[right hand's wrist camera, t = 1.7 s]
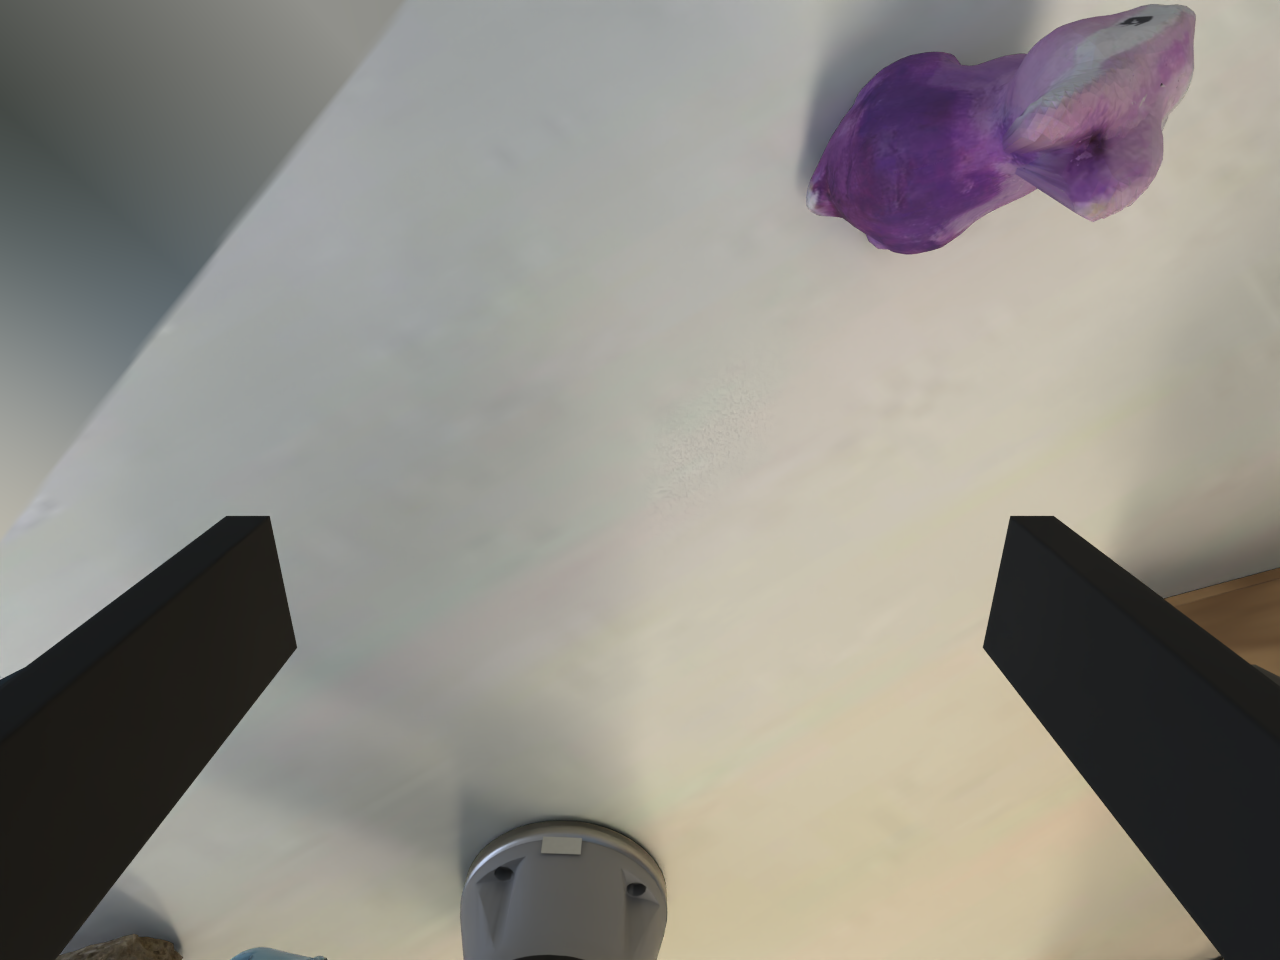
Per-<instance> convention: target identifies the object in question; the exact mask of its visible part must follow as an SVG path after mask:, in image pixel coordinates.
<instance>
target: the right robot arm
mask: <svg viewBox="0 0 1280 960" xmlns="http://www.w3.org/2000/svg"><path fill="white" fill-rule="evenodd" d="M296 648H297V645H296V640H295V635H294V630H293V626H292V621H291V616H290V611H289V607H288V602H287V597H286V592H285V587H284V583H283V578H282V573H281V568H280V563H279V559H278V554H277V549H276V544H275V540H274V535H273V530H272V525H271V520H270V516H226V517H224V518H223V519H222V520H220V521H219V522H218V523H216V524H215V525H214V526H212V527H211V528H210V529H209V530H207V531H206V532H205V533H203V534H202V535H201V536H199V537H198V538H197V539H195V540H194V541H193V542H191V543H190V544H189V545H187V546H186V547H185V548H183V549H182V550H181V551H179V552H178V553H177V554H175V555H174V556H173V557H171V558H170V559H169V560H167V561H166V562H165V563H163V564H162V565H161V566H159V567H158V568H157V569H155V570H154V571H153V572H151V573H150V574H149V575H147V576H146V577H145V578H143V579H142V580H141V581H139V582H138V583H137V584H135V585H134V586H133V587H131V588H130V589H129V590H127V591H126V592H125V593H123V594H122V595H121V596H119V597H118V598H117V599H115V600H114V601H113V602H111V603H110V604H109V605H107V606H106V607H105V608H103V609H102V610H101V611H100V612H98V613H97V614H96V615H94V616H93V617H92V618H90V619H89V620H88V621H86V622H85V623H84V624H82V625H81V626H80V627H78V628H77V629H76V630H74V631H73V632H72V633H70V634H69V635H68V636H66V637H65V638H64V639H62V640H61V641H60V642H58V643H57V644H56V645H54V646H53V647H52V648H50V649H49V650H48V651H46V652H45V653H44V654H42V655H41V656H40V657H38V658H37V659H36V660H34V661H33V662H32V663H30V664H29V665H28V666H26V667H25V668H23V669H21V670H19V671H17V672H15V673H13V674H11V675H9V676H7V677H5V678H3V679H1V680H0V960H55V959H56V958H57V957H58V956H59V954H60V953H61V952H62V950H63V949H64V948H65V947H66V945H67V944H68V943H69V941H70V940H71V939H72V938H73V936H74V935H75V934H76V932H77V931H78V930H79V929H80V927H81V926H82V925H83V923H84V922H85V921H86V919H87V918H88V917H89V916H90V914H91V913H92V912H93V910H94V909H95V908H96V907H97V905H98V904H99V903H100V901H101V900H102V899H103V898H104V896H105V895H106V894H107V892H108V891H109V890H110V888H111V887H112V886H113V885H114V883H115V882H116V881H117V879H118V878H119V877H120V876H121V874H122V873H123V872H124V870H125V869H126V868H127V867H128V865H129V864H130V863H131V861H132V860H133V859H134V857H135V856H136V855H137V854H138V852H139V851H140V850H141V848H142V847H143V846H144V845H145V843H146V842H147V841H148V839H149V838H150V837H151V836H152V834H153V833H154V832H155V830H156V829H157V828H158V827H159V825H160V824H161V823H162V821H163V820H164V819H165V817H166V816H167V815H168V814H169V812H170V811H171V810H172V808H173V807H174V806H175V805H176V803H177V802H178V801H179V799H180V798H181V797H182V796H183V794H184V793H185V792H186V790H187V789H188V788H189V786H190V785H191V784H192V783H193V781H194V780H195V779H196V777H197V776H198V775H199V774H200V772H201V771H202V770H203V768H204V767H205V766H206V765H207V763H208V762H209V761H210V759H211V758H212V757H213V756H214V754H215V753H216V752H217V750H218V749H219V748H220V746H221V745H222V744H223V743H224V741H225V740H226V739H227V737H228V736H229V735H230V734H231V732H232V731H233V730H234V728H235V727H236V726H237V725H238V723H239V722H240V721H241V719H242V718H243V717H244V715H245V714H246V713H247V712H248V710H249V709H250V708H251V706H252V705H253V704H254V703H255V701H256V700H257V699H258V697H259V696H260V695H261V694H262V692H263V691H264V690H265V688H266V687H267V686H268V685H269V683H270V682H271V681H272V679H273V678H274V677H275V675H276V674H277V673H278V672H279V670H280V669H281V668H282V666H283V665H284V664H285V663H286V661H287V660H288V659H289V657H290V656H291V655H292V654H293V652H294V651H295V650H296ZM983 648H984V650H985V651H986V652H987V654H988V655H989V656H990V657H991V659H992V660H993V661H994V663H995V664H996V665H997V666H998V668H999V669H1000V670H1001V672H1002V673H1003V674H1004V675H1005V677H1006V678H1007V679H1008V681H1009V682H1010V683H1011V685H1012V686H1013V687H1014V688H1015V690H1016V691H1017V692H1018V694H1019V695H1020V696H1021V697H1022V699H1023V700H1024V701H1025V703H1026V704H1027V705H1028V706H1029V708H1030V709H1031V710H1032V712H1033V713H1034V714H1035V715H1036V717H1037V718H1038V719H1039V721H1040V722H1041V723H1042V725H1043V726H1044V727H1045V728H1046V730H1047V731H1048V732H1049V734H1050V735H1051V736H1052V737H1053V739H1054V740H1055V741H1056V743H1057V744H1058V745H1059V746H1060V748H1061V749H1062V750H1063V752H1064V753H1065V754H1066V756H1067V757H1068V758H1069V759H1070V761H1071V762H1072V763H1073V765H1074V766H1075V767H1076V768H1077V770H1078V771H1079V772H1080V774H1081V775H1082V776H1083V777H1084V779H1085V780H1086V781H1087V783H1088V784H1089V785H1090V786H1091V788H1092V789H1093V790H1094V792H1095V793H1096V794H1097V796H1098V797H1099V798H1100V799H1101V801H1102V802H1103V803H1104V805H1105V806H1106V807H1107V808H1108V810H1109V811H1110V812H1111V814H1112V815H1113V816H1114V817H1115V819H1116V820H1117V821H1118V823H1119V824H1120V825H1121V827H1122V828H1123V829H1124V830H1125V832H1126V833H1127V834H1128V836H1129V837H1130V838H1131V839H1132V841H1133V842H1134V843H1135V845H1136V846H1137V847H1138V848H1139V850H1140V851H1141V852H1142V854H1143V855H1144V856H1145V857H1146V859H1147V860H1148V861H1149V863H1150V864H1151V865H1152V867H1153V868H1154V869H1155V870H1156V872H1157V873H1158V874H1159V876H1160V877H1161V878H1162V879H1163V881H1164V882H1165V883H1166V885H1167V886H1168V887H1169V888H1170V890H1171V891H1172V892H1173V894H1174V895H1175V896H1176V898H1177V899H1178V900H1179V901H1180V903H1181V904H1182V905H1183V907H1184V908H1185V909H1186V910H1187V912H1188V913H1189V914H1190V916H1191V917H1192V918H1193V919H1194V921H1195V922H1196V923H1197V925H1198V926H1199V927H1200V929H1201V930H1202V931H1203V932H1204V934H1205V935H1206V936H1207V938H1208V939H1209V940H1210V941H1211V943H1212V944H1213V945H1214V947H1215V948H1216V949H1217V950H1218V952H1219V953H1220V954H1221V956H1222V957H1223V958H1224V959H1225V960H1280V677H1279V676H1277V675H1275V674H1273V673H1271V672H1269V671H1267V670H1265V669H1263V668H1261V667H1259V666H1257V665H1255V664H1250V663H1248V662H1247V661H1246V660H1244V659H1243V658H1242V657H1240V656H1239V655H1238V654H1236V653H1235V652H1234V651H1232V650H1231V649H1230V648H1228V647H1227V646H1226V645H1224V644H1223V643H1222V642H1220V641H1219V640H1218V639H1216V638H1215V637H1214V636H1212V635H1211V634H1210V633H1208V632H1207V631H1206V630H1204V629H1203V628H1202V627H1200V626H1199V625H1198V624H1196V623H1195V622H1194V621H1192V620H1191V619H1190V618H1188V617H1187V616H1186V615H1184V614H1183V613H1182V612H1180V611H1179V610H1178V609H1177V608H1175V607H1174V606H1173V605H1171V604H1170V603H1169V602H1167V601H1166V600H1165V599H1163V598H1162V597H1161V596H1159V595H1158V594H1157V593H1155V592H1154V591H1153V590H1151V589H1150V588H1149V587H1147V586H1146V585H1145V584H1143V583H1142V582H1141V581H1139V580H1138V579H1137V578H1135V577H1134V576H1133V575H1131V574H1130V573H1129V572H1127V571H1126V570H1125V569H1123V568H1122V567H1121V566H1119V565H1118V564H1117V563H1115V562H1114V561H1113V560H1111V559H1110V558H1109V557H1107V556H1106V555H1105V554H1103V553H1102V552H1101V551H1099V550H1098V549H1097V548H1095V547H1094V546H1093V545H1091V544H1090V543H1089V542H1087V541H1086V540H1085V539H1083V538H1082V537H1081V536H1079V535H1078V534H1077V533H1075V532H1074V531H1073V530H1071V529H1070V528H1069V527H1068V526H1066V525H1065V524H1064V523H1062V522H1061V521H1060V520H1058V519H1057V518H1056V517H1054V516H1010V520H1009V525H1008V530H1007V535H1006V540H1005V544H1004V549H1003V554H1002V559H1001V563H1000V568H999V573H998V578H997V583H996V587H995V592H994V597H993V602H992V607H991V611H990V616H989V621H988V626H987V630H986V635H985V640H984V645H983ZM460 920H461V932H462V945H463V957H464V960H657V956H658V953H659V950H660V946H661V943H662V940H663V936H664V932H665V927H666V922H667V893H666V885H665V881H664V878H663V875H662V873H661V871H660V869H659V867H658V865H657V864H656V863H655V861H654V860H653V858H652V857H651V856H650V855H649V854H648V853H647V852H646V851H645V850H644V849H643V848H642V847H640V846H639V845H638V844H637V843H635V842H634V841H632V840H631V839H629V838H627V837H626V836H624V835H622V834H620V833H618V832H615V831H613V830H610V829H608V828H605V827H602V826H598V825H594V824H590V823H584V822H577V821H546V822H539V823H534V824H529V825H526V826H522V827H519V828H516V829H514V830H511V831H509V832H507V833H505V834H503V835H501V836H500V837H498V838H496V839H495V840H493V841H492V842H491V843H489V844H488V845H487V846H486V847H485V848H484V849H483V850H482V851H481V852H480V853H479V854H478V856H477V857H476V858H475V860H474V861H473V863H472V865H471V867H470V869H469V872H468V875H467V878H466V882H465V886H464V890H463V893H462V898H461V912H460ZM231 960H327V958H325V957H323V956H317V957H314V958H311V957H306V956H301V955H297V954H292V953H288V952H284V951H280V950H276V949H272V948H266V947H258V948H253V949H249V950H246V951H244V952H242V953H240V954H238V955H236V956H235V957H233V958H232V959H231Z"/></svg>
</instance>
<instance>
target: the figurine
mask: <svg viewBox="0 0 1280 960" xmlns="http://www.w3.org/2000/svg"><path fill="white" fill-rule="evenodd" d="M1195 21H1196V15H1195V13H1194V11H1192V10H1191V9H1190V8H1188V7H1187V6H1182V5H1159V4H1150V5H1144V6H1140V7H1137V8H1134V9H1132V10H1129V11H1125V12H1121V13H1117V14H1113V15H1107V16H1098V17H1092V18H1087V19H1082V20H1078V21H1075V22H1072V23H1069V24H1066V25H1063V26H1060V27H1058V28H1056V29H1055V30H1054V31H1052V32H1051V33H1049V34H1048V35H1047V36H1045V37H1044V38H1042V39H1041V40H1040V41H1039V42H1038V43H1036V44H1035V45H1034V47H1033V48H1032V49H1031V50H1030V51H1029V52H1028V54H1014V55H1007V56H1003V57H1000V58H996V59H993V60H990V61H987V62H984V63H981V64H978V65H973V66H967V65H961V64H960V63H959V61H958V60H957V59H956V57H955V56H954V55H952V54H949V53H944V52H926V53H920V54H915V55H910V56H907V57H905V58H902V59H900V60H898V61H896V62H894V63H892V64H890V65H889V66H887V67H885V68H884V69H882V70H881V71H880V72H878V73H877V74H876V75H875V76H874V77H873V78H872V79H871V80H870V81H869V82H868V83H867V84H866V85H865V86H864V87H863V88H862V90H861V91H860V92H859V94H858V96H857V98H856V100H855V103H854V105H853V106H852V107H851V109H850V110H849V111H848V113H847V114H846V115H845V117H844V118H843V119H842V121H841V123H840V124H839V126H838V127H837V129H836V130H835V132H834V134H833V135H832V137H831V139H830V141H829V143H828V145H827V147H826V149H825V151H824V153H823V155H822V157H821V159H820V161H819V163H818V165H817V167H816V170H815V172H814V174H813V176H812V178H811V180H810V183H809V186H808V190H807V197H806V202H807V207H808V209H809V210H810V211H811V212H813V213H815V214H816V215H821V216H832V217H841V218H844V219H845V220H847V221H848V222H849V223H850V224H852V225H853V226H854V227H856V228H857V229H859V230H860V231H862V232H864V233H865V234H866V235H867V238H868V240H869V242H870V243H872V244H873V245H874V246H875V247H877V248H878V249H889V250H890V251H893V252H896V253H901V254H917V253H922V252H927V251H931V250H935V249H938V248H941V247H943V246H944V245H946V244H947V243H949V242H950V241H952V240H953V239H954V238H956V237H957V236H959V235H960V234H961V233H963V232H964V231H965V230H966V229H967V228H968V227H969V226H970V225H971V224H972V223H974V222H975V221H976V220H978V219H980V218H981V217H983V216H984V215H986V214H987V213H989V212H991V211H993V210H995V209H997V208H999V207H1001V206H1003V205H1006V204H1008V203H1010V202H1012V201H1014V200H1017V199H1019V198H1021V197H1023V196H1025V195H1027V194H1029V193H1030V192H1032V191H1034V190H1036V189H1039V190H1041V191H1042V192H1044V193H1046V194H1047V195H1049V196H1050V197H1052V198H1053V199H1055V200H1056V201H1058V202H1059V203H1061V204H1063V205H1064V206H1066V207H1067V208H1069V209H1070V210H1072V211H1073V212H1075V213H1077V214H1078V215H1080V216H1082V217H1084V218H1086V219H1088V220H1090V221H1092V222H1094V221H1096V220H1099V219H1101V218H1103V219H1104V218H1106V217H1108V216H1110V215H1112V214H1115V213H1117V212H1119V211H1121V210H1122V209H1123V208H1125V207H1128V206H1131V205H1132V204H1133V203H1134V202H1135V201H1136V200H1137V198H1138V197H1139V196H1140V195H1141V194H1142V193H1143V192H1144V191H1145V190H1146V189H1147V188H1148V187H1149V185H1150V183H1151V182H1152V181H1153V179H1154V178H1155V176H1156V174H1157V171H1158V169H1159V167H1160V166H1161V163H1162V160H1163V135H1162V131H1163V128H1164V126H1165V123H1166V121H1167V119H1168V115H1169V114H1170V113H1171V112H1172V111H1173V110H1174V109H1175V108H1176V107H1177V105H1178V104H1179V103H1180V101H1181V100H1182V99H1183V97H1184V96H1185V94H1186V92H1187V90H1188V88H1189V86H1190V83H1191V80H1192V76H1193V70H1194V50H1193V42H1194V32H1195Z"/></svg>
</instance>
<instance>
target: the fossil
mask: <svg viewBox="0 0 1280 960" xmlns="http://www.w3.org/2000/svg"><path fill="white" fill-rule="evenodd" d="M182 958H183V957H182V956H181V955H180V954H179V953H178V952H177V951H175V950H174V945H173V943H171V942H169V941H165V940H162V939H154V938H150V937H138V935H135V934H132V935H127V936H124V937H121V938H118V939H114V940H111V941H108V942H105V943H100V944H95V945H90V946H87V947H85V948H83V949H80V950H77V951H73V952H70V953H66V954H62V955H59V956H58V957H57V958H56V959H55V960H182Z"/></svg>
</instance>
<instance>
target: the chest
mask: <svg viewBox="0 0 1280 960" xmlns="http://www.w3.org/2000/svg"><path fill="white" fill-rule="evenodd" d="M1165 600H1166V601H1167V602H1169V603H1170V604H1171V605H1173V606H1174V607H1175V608H1177V609H1178V610H1179V611H1180V612H1182V613H1183V614H1184V615H1186V616H1187V617H1188V618H1190V619H1191V620H1192V621H1194V622H1195V623H1196V624H1198V625H1199V626H1200V627H1202V628H1203V629H1204V630H1206V631H1207V632H1208V633H1210V634H1211V635H1212V636H1214V637H1215V638H1216V639H1218V640H1219V641H1220V642H1222V643H1223V644H1224V645H1226V646H1227V647H1228V648H1230V649H1231V650H1232V651H1234V652H1235V653H1236V654H1238V655H1239V656H1240V657H1242V658H1243V659H1244V660H1246V661H1247V662H1248V663H1250V664H1255V665H1257V666H1259V667H1261V668H1263V669H1265V670H1267V671H1269V672H1271V673H1273V674H1275V675H1277V676H1279V677H1280V568H1277V569H1273V570H1270V571H1266V572H1262V573H1258V574H1255V575H1251V576H1247V577H1243V578H1240V579H1236V580H1232V581H1228V582H1225V583H1221V584H1217V585H1214V586H1210V587H1206V588H1202V589H1199V590H1195V591H1191V592H1187V593H1184V594H1180V595H1176V596H1173V597H1169V598H1165Z"/></svg>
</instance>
